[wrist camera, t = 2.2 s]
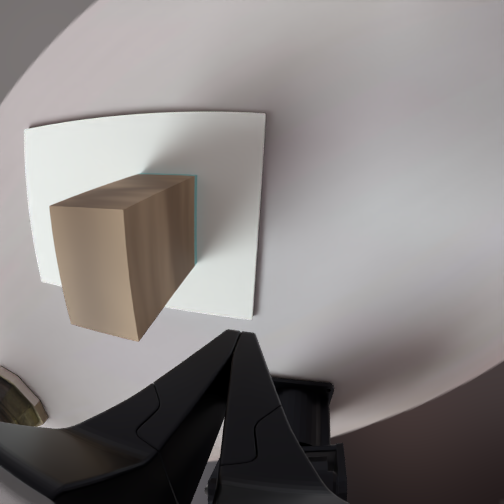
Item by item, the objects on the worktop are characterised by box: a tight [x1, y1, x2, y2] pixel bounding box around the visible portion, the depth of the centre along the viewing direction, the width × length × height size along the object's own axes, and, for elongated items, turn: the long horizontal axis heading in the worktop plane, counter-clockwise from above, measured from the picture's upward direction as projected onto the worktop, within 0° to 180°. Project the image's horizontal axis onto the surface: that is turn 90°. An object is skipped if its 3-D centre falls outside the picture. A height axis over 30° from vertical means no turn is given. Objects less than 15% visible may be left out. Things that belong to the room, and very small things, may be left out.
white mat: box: [24, 112, 266, 320], centre depth 21 cm, size 20×14×1 cm
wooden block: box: [49, 173, 197, 342], centre depth 16 cm, size 4×6×9 cm, turn 177°
